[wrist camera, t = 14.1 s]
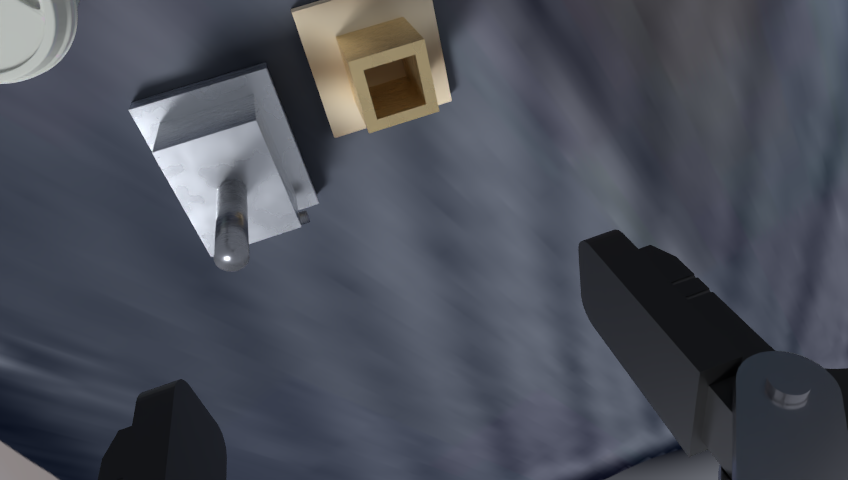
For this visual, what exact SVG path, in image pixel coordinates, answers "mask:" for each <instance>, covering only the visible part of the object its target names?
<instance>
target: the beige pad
mask: <svg viewBox="0 0 848 480" xmlns="http://www.w3.org/2000/svg"><path fill="white" fill-rule="evenodd" d="M291 12H292V15H293V18H294V21H295V24H296V27H297V30H298V33H299V36H300V38H301V41H302V44H303V47H304V50H305V53H306V56H307V59H308V62H309V65H310V68H311V71H312V74H313V77H314V80H315V82H316V85H317V88H318V91H319V94H320V97H321V100H322V103H323V106H324V109H325V112H326V115H327V118H328V121H329V123H330V126H331V129H332V132H333V135H334V138H337V137H340V136H343V135H346V134H349V133H352V132H356V131H359V130H362V129H365V128H366V125H365V123H364V121H363V119H362V117H361V114H360V112H359V110H358V108H357V105H356V103H355V101H354V97H353V94H352V90H351V87H350V84H349V80H348V77H347V74H346V70H345V67H344V64H343V60H342V57H341V54H340V50H339V47H338V44H337V40H336V36H339V35H343V34H346V33H349V32H353V31H356V30H359V29H363V28H366V27H369V26H373V25H376V24H379V23H383V22H386V21H390V20H393V19H396V18H400V17H404V18H405V19H406V20H407V21H408V22H409V23H410V24H411V25H412V26H413V27H414V28H415V30H416V31H417V32H418V33H419V34H420V35H421V36H422V37H423V38H424V39H425V44H426V49H427V54H428V59H429V64H430V69H431V73H432V78H433V83H434V88H435V93H436V98H437V103H438V105H440V104H444V103H447V102H450V101H452V99H451V94H450V89H449V84H448V79H447V74H446V68H445V63H444V58H443V53H442V48H441V43H440V37H439V32H438V27H437V22H436V17H435V12H434V6H433V1H432V0H320V1H316V2H313V3H310V4H306V5H303V6H299V7H296V8H293V9H291ZM363 71H364V74H365V78H366V82H367V85H368V88H369V87H372V86H375V85H379V84H382V83H385V82H388V81H392V80H395V79H398V78H401V77H405V76H406V73H405V69H404V65H403V60H402V59H399V60H395V61H392V62H389V63H386V64H382V65H379V66H376V67H372V68H369V69H366V70H363Z"/></svg>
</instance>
